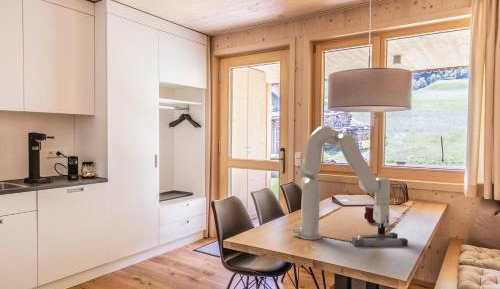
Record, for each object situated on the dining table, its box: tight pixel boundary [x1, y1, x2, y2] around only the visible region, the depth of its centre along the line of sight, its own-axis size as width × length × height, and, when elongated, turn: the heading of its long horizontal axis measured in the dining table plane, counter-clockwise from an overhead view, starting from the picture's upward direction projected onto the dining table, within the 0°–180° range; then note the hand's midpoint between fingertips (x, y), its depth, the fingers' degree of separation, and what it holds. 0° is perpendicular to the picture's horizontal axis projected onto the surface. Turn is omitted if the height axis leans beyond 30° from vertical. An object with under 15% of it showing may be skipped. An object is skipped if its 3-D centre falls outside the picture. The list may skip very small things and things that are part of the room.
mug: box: [363, 204, 377, 224], centre depth 214 cm, size 11×8×10 cm
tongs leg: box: [359, 232, 399, 238], centre depth 180 cm, size 22×3×3 cm, turn 106°
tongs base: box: [351, 235, 409, 248], centre depth 174 cm, size 27×5×4 cm, turn 93°
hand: (381, 234), depth 185 cm, fingers closed
